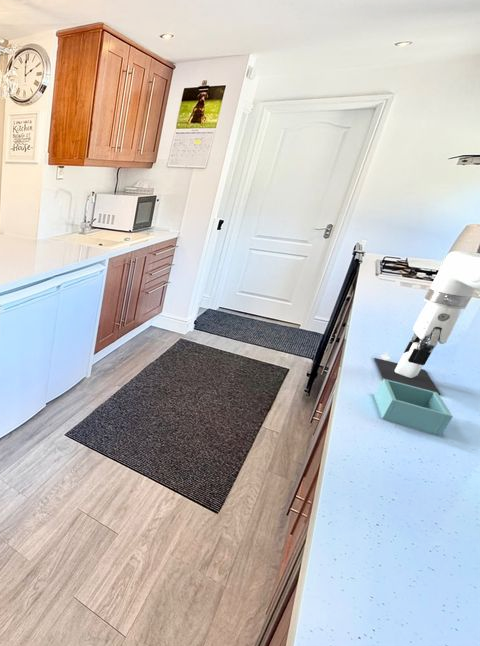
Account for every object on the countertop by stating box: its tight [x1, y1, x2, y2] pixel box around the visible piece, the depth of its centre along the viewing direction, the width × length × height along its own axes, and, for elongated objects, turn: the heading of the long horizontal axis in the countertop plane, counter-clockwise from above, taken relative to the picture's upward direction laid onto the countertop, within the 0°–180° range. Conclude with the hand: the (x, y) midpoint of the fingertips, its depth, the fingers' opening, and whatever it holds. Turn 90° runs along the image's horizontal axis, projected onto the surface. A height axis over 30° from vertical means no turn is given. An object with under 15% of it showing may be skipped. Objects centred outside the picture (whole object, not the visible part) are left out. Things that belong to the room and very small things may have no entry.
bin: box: [373, 379, 453, 437], centre depth 95 cm, size 10×13×5 cm
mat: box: [373, 357, 441, 396], centre depth 115 cm, size 11×17×1 cm, turn 143°
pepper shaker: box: [395, 342, 424, 378], centre depth 113 cm, size 4×4×10 cm
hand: (413, 358), depth 112 cm, fingers open, 5 cm apart
